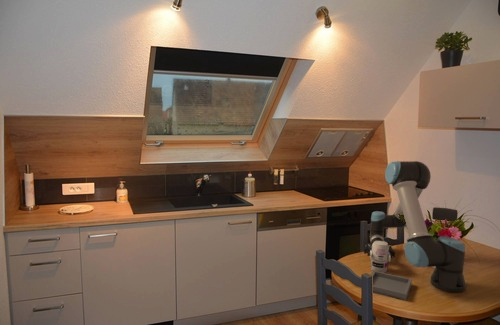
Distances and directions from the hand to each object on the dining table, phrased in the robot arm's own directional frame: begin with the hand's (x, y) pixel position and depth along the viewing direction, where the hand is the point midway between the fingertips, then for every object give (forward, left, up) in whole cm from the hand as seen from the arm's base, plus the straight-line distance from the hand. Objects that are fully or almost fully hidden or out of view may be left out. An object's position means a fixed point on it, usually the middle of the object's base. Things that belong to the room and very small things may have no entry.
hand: (380, 258), depth 189 cm
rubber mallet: (-26, -40, -9) cm, 48 cm away
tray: (-7, +13, -9) cm, 17 cm away
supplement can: (+1, -5, -9) cm, 10 cm away
